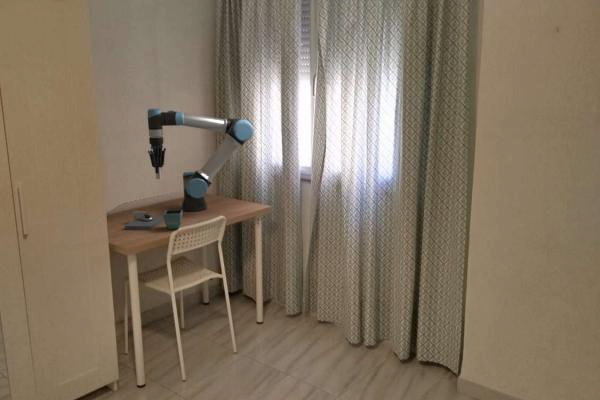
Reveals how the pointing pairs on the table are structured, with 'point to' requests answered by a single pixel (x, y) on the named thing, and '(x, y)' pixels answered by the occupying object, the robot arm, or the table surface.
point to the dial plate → (143, 224)
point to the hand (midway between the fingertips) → (158, 178)
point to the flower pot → (173, 218)
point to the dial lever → (142, 215)
